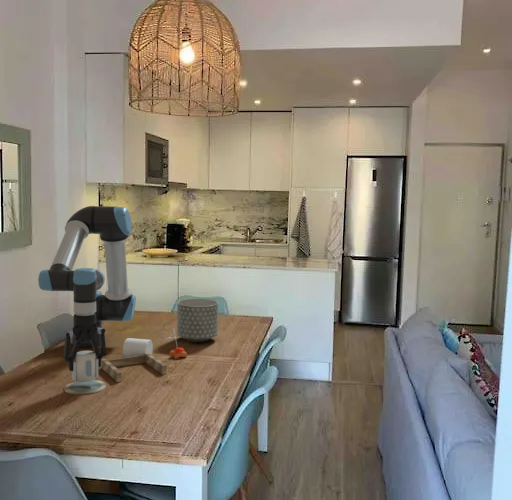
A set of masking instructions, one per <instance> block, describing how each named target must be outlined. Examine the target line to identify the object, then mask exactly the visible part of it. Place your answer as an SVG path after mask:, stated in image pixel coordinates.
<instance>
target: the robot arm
mask: <svg viewBox="0 0 512 500" xmlns="http://www.w3.org/2000/svg"><path fill="white" fill-rule="evenodd" d="M131 217H132V216H131V214H130V212H129V209H127V208H126V207H125V206H117V205H116V206H109V205H108V206H103V205H100V206H98V205H96V206H95V205H90V206H85V207H83V208H81V209H79V210H76V211H75V212H74V213H73V214H72V215H71V216H70V218H69V219H68V220H67V222H66V223H65V226H64V231H65V232H64V235H63V237H62V239H61V242H60V244H59V247H58V249H57V251H56V254H55V256H54V258H53V261H52V263H51V265H50V267H49V269H43V270H41V271H40V272H39V274H38V279H37V280H38V287H39V288H40V289H41V291H46V292H47V291H48V292H73V293H72V294H73V313H74V315H73V327H72V330H69V331H67V330H66V331H64V332H63V334H64V345H63V355H62V359H63V360H64V362H68V370H69V372H71V380H72V382H75V381H76V362H75V356H76V353H77V352H79V348H92V350H93V351H94V352H95V353H96V378H99V368H102V359H103V357H106V356H107V348H106V342H107V341H106V340H107V339H106V338H107V337H106V329H105V328H104V327H103V324H102V323H103V322H108V321H109V322H129V321H131V320H132V319H133V317H134V315H135V314H134V313H135V309H136V302H137V301H136V300H137V297H136V295H135V294H133V293H132V290H131V289H130V288H128V275H127V274H128V273H127V272H128V270H127V254H126V241H127V240H128V239H129V235H131V234H132V227H133V226H132V225H133V224H132V218H131ZM91 234H94V235H99V239H100V240H101V242H102V243H103V244H104V245H103V246H104V255H105V269H106V279H105V275H104V273H103V272H102V271H101V270H98V269H94V268H90V267H88V268H87V267H82V268H75V269H74V270H73V268H74V266H75V263H76V261H77V258H78V255H79V253H80V250H81V248H82V246H83V243H84V240H85V239H87V237H88V236H89V235H91ZM105 281H107V283H106V284H107V290H106V291H105V292H104V294H103V293H102V291H101V290H100V289H101V288H102V287H103V285H104V284H105ZM98 290H99V291H98ZM71 345H72V348H71ZM99 349H100V350H99Z"/></svg>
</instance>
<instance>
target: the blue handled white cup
mask: <svg viewBox="0 0 512 500" xmlns="http://www.w3.org/2000/svg"><path fill="white" fill-rule="evenodd" d="M74 361H75V362H76V381H78V382H89V381H92V380H96V379H97V377H96V353H95V352H94V350H80V351H77V353H76V356H75V359H74Z"/></svg>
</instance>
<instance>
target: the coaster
mask: <svg viewBox="0 0 512 500" xmlns="http://www.w3.org/2000/svg"><path fill="white" fill-rule="evenodd" d="M106 388H107V384H106V382H104V381H103V380H98V379H94V380H92V381H89V382H78V381H72V382H69V383H67V384H66V385H65V386H64V387H63V391H64V393H65V392H66V393H67V394H70V395H77V396H85V395H92V394H96V393H99V392H102V391H103V390H105V389H106Z"/></svg>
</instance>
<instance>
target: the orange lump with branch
mask: <svg viewBox="0 0 512 500" xmlns="http://www.w3.org/2000/svg"><path fill="white" fill-rule="evenodd" d="M172 329H173V330H172V331H173V335H174V336H168V337H165V339H164V340H169V339H174V340H177V334H176V332H175V328H172ZM175 344H176V345H178V343H177V341H175ZM169 355H170V357H172V358H173V359H175V360H178V359H179V358H186V357H187V356H188V353H187V351H185V349H184V348H183V347H178V346H176V348H175V349H174V350H173V349H171V350H170V351H169Z"/></svg>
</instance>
